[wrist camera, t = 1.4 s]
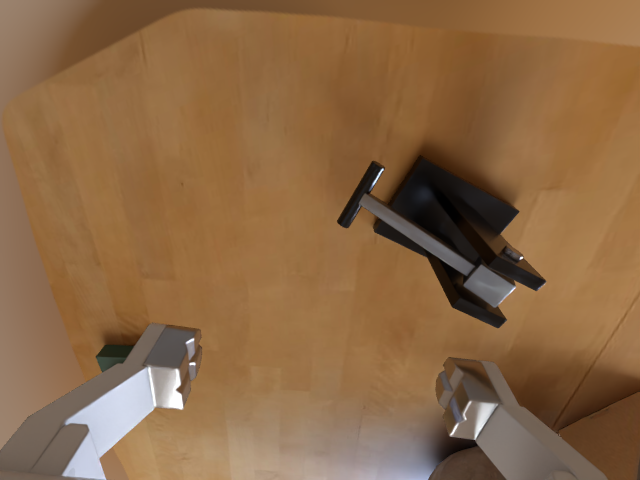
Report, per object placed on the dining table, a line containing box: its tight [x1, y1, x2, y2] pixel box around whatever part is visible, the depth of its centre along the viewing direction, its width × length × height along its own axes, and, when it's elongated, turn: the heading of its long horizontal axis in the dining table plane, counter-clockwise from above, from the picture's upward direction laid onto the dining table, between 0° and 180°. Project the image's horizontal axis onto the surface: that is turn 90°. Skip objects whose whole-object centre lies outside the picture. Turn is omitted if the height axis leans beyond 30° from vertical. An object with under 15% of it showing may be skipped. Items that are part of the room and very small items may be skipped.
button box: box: [96, 345, 134, 372], centre depth 47 cm, size 10×8×4 cm
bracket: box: [373, 155, 546, 328], centre depth 30 cm, size 12×9×14 cm
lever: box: [337, 161, 516, 308], centre depth 27 cm, size 14×6×2 cm, turn 63°
